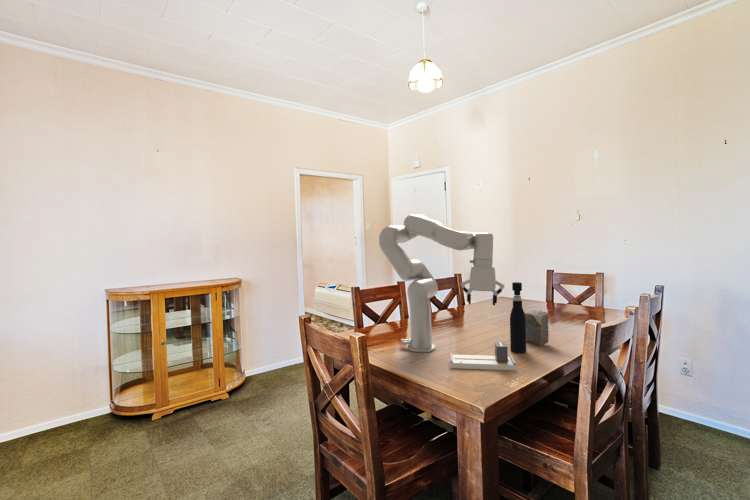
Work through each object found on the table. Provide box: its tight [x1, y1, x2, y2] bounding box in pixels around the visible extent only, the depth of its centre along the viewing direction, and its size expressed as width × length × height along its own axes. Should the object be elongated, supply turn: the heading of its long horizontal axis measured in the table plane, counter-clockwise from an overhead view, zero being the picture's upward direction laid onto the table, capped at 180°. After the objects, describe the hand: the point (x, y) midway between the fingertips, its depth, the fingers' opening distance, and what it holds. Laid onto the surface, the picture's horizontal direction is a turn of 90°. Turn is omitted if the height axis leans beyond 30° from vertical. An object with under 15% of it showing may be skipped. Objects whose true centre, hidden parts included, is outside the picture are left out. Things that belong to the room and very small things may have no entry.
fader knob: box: [494, 341, 509, 362], centre depth 141 cm, size 4×6×6 cm, turn 168°
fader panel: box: [449, 352, 517, 371], centre depth 142 cm, size 24×10×3 cm, turn 78°
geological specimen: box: [524, 309, 550, 346], centre depth 168 cm, size 11×6×15 cm, turn 25°
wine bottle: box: [509, 281, 527, 355], centre depth 156 cm, size 6×6×30 cm
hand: (481, 304), depth 148 cm, fingers open, 9 cm apart
